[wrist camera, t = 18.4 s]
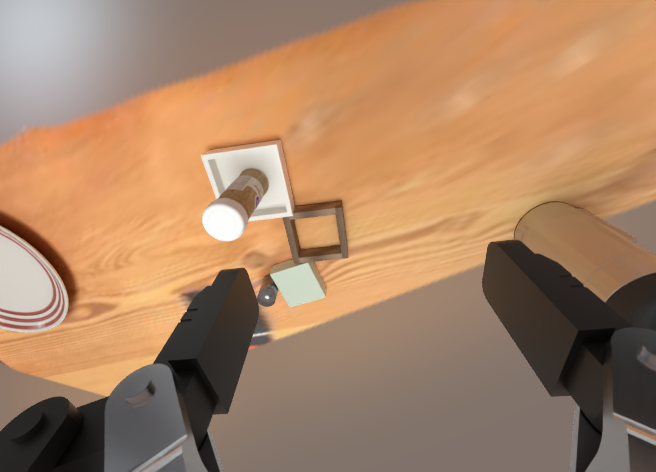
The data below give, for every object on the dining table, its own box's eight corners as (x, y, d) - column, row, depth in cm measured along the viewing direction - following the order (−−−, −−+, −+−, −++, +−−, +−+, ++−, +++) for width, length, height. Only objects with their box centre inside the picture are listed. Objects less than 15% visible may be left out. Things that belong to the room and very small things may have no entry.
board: (309, 252, 49) (307, 262, 47) (326, 286, 53) (325, 297, 50) (273, 264, 51) (269, 274, 48) (292, 296, 54) (290, 307, 52)
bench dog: (278, 273, 51) (272, 292, 47) (281, 286, 53) (276, 305, 48) (261, 275, 51) (255, 293, 47) (265, 288, 53) (259, 307, 49)
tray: (280, 139, 40) (276, 144, 37) (295, 207, 45) (292, 215, 42) (209, 150, 41) (200, 155, 38) (231, 215, 46) (225, 224, 43)
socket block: (341, 200, 44) (341, 207, 42) (347, 249, 48) (348, 257, 46) (284, 207, 45) (281, 214, 43) (295, 255, 49) (294, 263, 47)
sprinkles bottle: (271, 195, 43) (247, 241, 31) (242, 197, 43) (207, 243, 32) (266, 165, 41) (238, 203, 29) (235, 167, 41) (194, 205, 29)
